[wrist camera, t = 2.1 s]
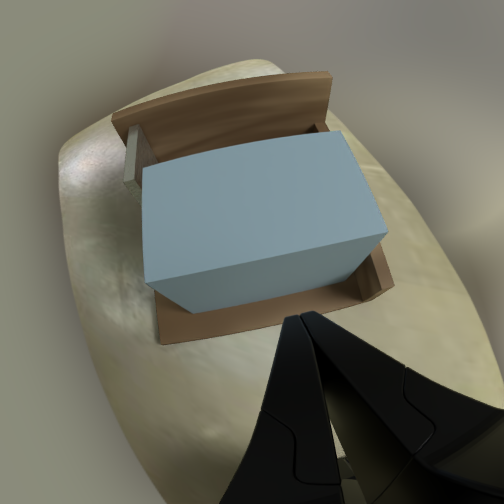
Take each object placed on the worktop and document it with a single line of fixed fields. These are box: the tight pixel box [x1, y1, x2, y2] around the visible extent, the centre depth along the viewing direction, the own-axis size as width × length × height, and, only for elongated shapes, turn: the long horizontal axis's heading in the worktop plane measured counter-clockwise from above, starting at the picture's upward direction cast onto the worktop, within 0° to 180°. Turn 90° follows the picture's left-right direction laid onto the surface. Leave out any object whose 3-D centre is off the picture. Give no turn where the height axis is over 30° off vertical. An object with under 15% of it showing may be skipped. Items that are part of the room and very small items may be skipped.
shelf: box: [111, 71, 394, 345], centre depth 19 cm, size 16×17×10 cm
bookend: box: [123, 124, 159, 207], centre depth 21 cm, size 6×2×8 cm, turn 12°
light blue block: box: [142, 131, 388, 314], centre depth 18 cm, size 7×12×9 cm, turn 101°
